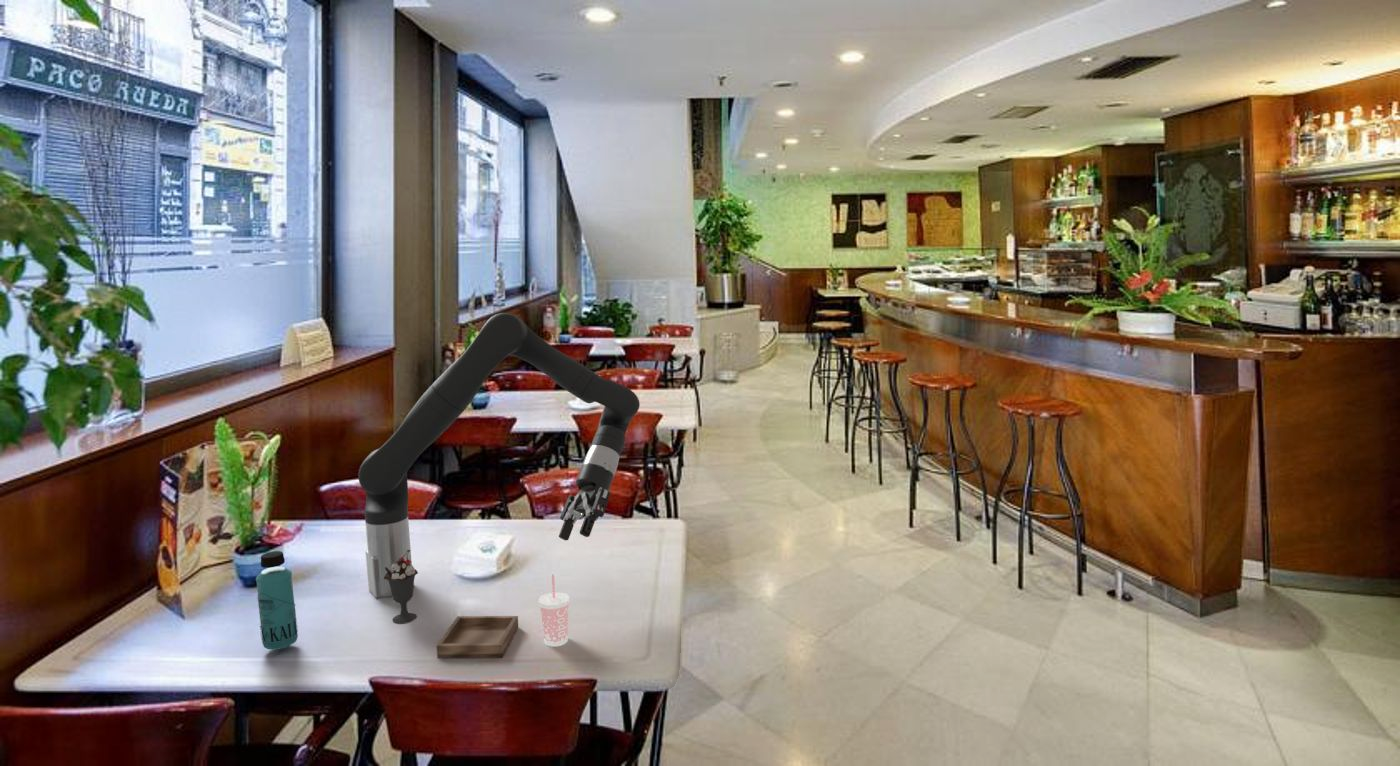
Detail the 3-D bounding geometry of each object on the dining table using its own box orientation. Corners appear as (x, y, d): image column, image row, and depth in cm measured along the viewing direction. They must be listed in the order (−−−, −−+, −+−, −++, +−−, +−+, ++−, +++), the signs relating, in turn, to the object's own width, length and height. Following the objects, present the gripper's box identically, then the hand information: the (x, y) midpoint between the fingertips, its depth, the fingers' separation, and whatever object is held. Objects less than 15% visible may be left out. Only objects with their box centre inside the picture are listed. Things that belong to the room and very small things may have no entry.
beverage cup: (545, 651, 155) (542, 583, 153) (536, 638, 161) (533, 572, 159) (575, 643, 158) (572, 577, 156) (566, 631, 164) (562, 566, 161)
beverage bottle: (271, 642, 161) (261, 548, 158) (305, 640, 161) (295, 546, 158) (256, 658, 154) (245, 560, 151) (292, 656, 155) (281, 558, 152)
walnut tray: (437, 658, 153) (436, 645, 153) (458, 628, 166) (457, 616, 165) (502, 657, 153) (501, 645, 153) (518, 627, 165) (517, 615, 165)
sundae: (427, 613, 173) (422, 547, 170) (407, 627, 166) (401, 559, 164) (402, 609, 175) (397, 544, 173) (381, 623, 169) (375, 555, 166)
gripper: (568, 467, 181) (542, 533, 173) (602, 457, 170) (576, 526, 162) (594, 482, 184) (570, 547, 176) (629, 473, 174) (605, 541, 166)
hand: (573, 537), depth 169 cm, fingers open, 8 cm apart
